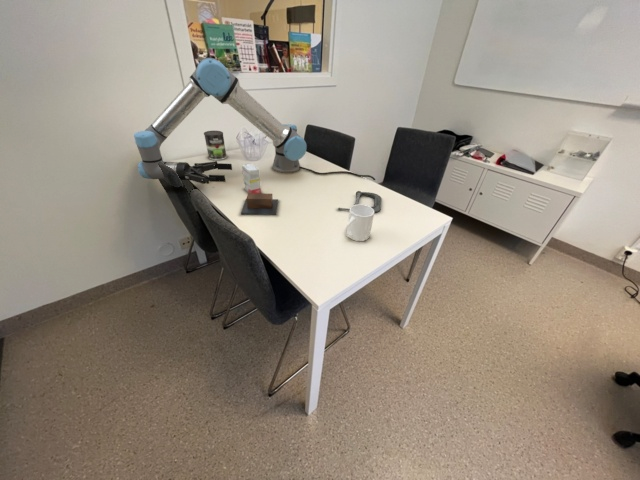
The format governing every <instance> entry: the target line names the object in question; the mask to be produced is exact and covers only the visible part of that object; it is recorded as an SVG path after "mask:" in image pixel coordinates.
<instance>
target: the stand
mask: <svg viewBox="0 0 640 480" xmlns="http://www.w3.org/2000/svg"><path fill="white" fill-rule="evenodd" d="M273 197H274V196H273V193H267V192H266V193H262V192H261V193H249V192H247V196H246V198H245V200H244V203H243V206H242V209H241V212H240V215H241V216H277V213H278V206H279V199H278V198H277V199H275V198H273Z"/></svg>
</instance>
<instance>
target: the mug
mask: <svg viewBox="0 0 640 480" xmlns="http://www.w3.org/2000/svg"><path fill="white" fill-rule="evenodd" d="M371 207H372V206H370V205H368V204H367V205H366V204H359V203H358V205H354V204H353V205H352V206H350V207H349V209H350V210H348V211H349V212H348V219H347V224H346V226H345V236H346V237H347V238H349V239H351V240H352V241H355V242H365V241H367V240H368V239H369V238H370V237H371V231H372V226H373V221H374V217H375V216H374V215H375V213H374V210H373V209H372V208H371Z"/></svg>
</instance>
